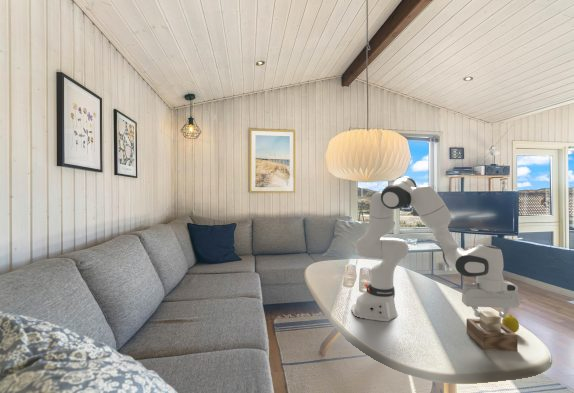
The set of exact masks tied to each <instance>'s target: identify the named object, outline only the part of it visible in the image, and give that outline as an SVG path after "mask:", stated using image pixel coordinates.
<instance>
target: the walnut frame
mask: <svg viewBox="0 0 574 393" xmlns="http://www.w3.org/2000/svg"><path fill="white" fill-rule="evenodd" d="M466 334H467V335H469V336H470V337H471V339H472V340H474V342H475V343H477V344H478V345H479V347H480V348H482V349H483V350H489V351H490V350H493V351H508V352H509V351H510V352H511V351H512V352H518V334H516V332H513V331H511V330H510V329H509V328H507V327H506V326H505V325H503V324H502V322H501V332H487V331H486V330H485V329H484V328H482V327H481V326H480V318H466Z"/></svg>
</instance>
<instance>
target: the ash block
mask: <svg viewBox="0 0 574 393" xmlns="http://www.w3.org/2000/svg"><path fill="white" fill-rule="evenodd" d="M479 312H480V313H481V315H480V316H481V317H479V319H480V326H481V327H482V328H484V329H485V330H486V331H487V332H501V323H502V320H501V319H502V318H501V317H500V316H499V314H497V313H496V312H494V311H492V310H491V311H486V310H484V311H483V310H482V311H481V310H480V311H479Z"/></svg>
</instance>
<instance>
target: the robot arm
mask: <svg viewBox="0 0 574 393" xmlns="http://www.w3.org/2000/svg"><path fill="white" fill-rule="evenodd" d="M369 203H370V204H369V211H368V213H369V216H368V217H369V219H368V228H367V231H366V232H365V233H364V235H362V236H361V237H360V238H358V239H356V241H355V244H354V250H355V253H356V255H358V257H360V258H364V259H370V260H382V261H381V262H380V263H378V264H376V265H374V266H373V267H372V268H371V269H370V283H367V282H366V283H365V284H364V286H365V288H366V291H365V292H364V293H362V294H360V295H359V296H357V298H356V302H355V304H352V306H351V313H352V312H353V313H352V314H354V315H355V316H357V317H360V318H359V319H362V318H365V319H364V320H371V321H378V322H390V321H391V320H392V319H396V317H398V311H397V308H396V302H395V298H396V297H395V296H396V294H395V293H396V291H395V290H396V289H395V286H394V276H395V275H394V274H395V270H396V267H397V266H398V264H399V263H400V262H402V261H403V260H404V259H406V258H407V256H408V255H409V249H410V248H409V245H408V243H407V242H406V241H405V240H404V239H402V238H398V237H383V236H385V235H387V234H389V233H390V232H391V231H392V230H393V228H394V210H398V209H404V208H409V207H410V206H411V207H413V209H414V210H415V211H416V213H417V215H418V216H419V218H420V220H421V221H422V222H423V223H424V224H425V226H426V227H427V228H428V229H429V230H430V231H431V232H432V234H433V236H434V238H435V239H436V241H437V243H438V244H439V246H440V249H441V251H442V259H443V262H444V264H445V265H447V266H448V267H449V268H450V269H453V270H454V271H455V272H456V273H458V274H460V275H461V276H464V277H470V278H471V277H476V278H475V279H476V282H475V283H471V282H470V283H469V282H468V283H465V284H463V285H462V288H461V290H462V294H461V302H462V303H463V305H465V306H466V307H469V308H470V307H471V309H472V310H473V312H474V316H475V317H476V318H480V317H481V316H480V315H481V313H480V311H479V308H502V309H501V311H498V316H499V317H501V319H503V318H506V315H507V313H508V312H509V311H510V308H511V309H512V308H513V309H514V308H515V309H517V308H518V307H520V304H521V303H520V302H521V298H520V293H519V292H518V291H519V286H518V285H517V284H514V283H512V282H511V281H508V280H505V278H504V274H503V271H504V256H503V252H502V250H501V248H500V247H498V246H495V245H493V244H492V245H491V244H490V243H489V244H488V243H479V244H477V245H476V246H474V247H473V248H471V249H467V250H466V249H464V248H462V247H461V246H460V245H458V243H457V242H456V241H455V239H454V237H453V235H452V234H451V232H450V229H449V225H450V224H451V221H452V214H451V213H450V210H449V208H448V207H447V204H446V203H445V201H444V200H443V199H442V197H441V196H440V195H439V193H438V192H437V191H436V190H435V189H434V188H433V187H432V186H430V185H428V184H427V185H426V184H422V185H418V186H417V183H416V181H415V180H414V179H413V178H412V177H409V176H400V177H397V178H396V179H395V180H393V181H391V182H390V183H389V184H388V185H387V186H385V188H383V189H382V191H376V192H374V193H373V194H372V195H371V197H370V202H369ZM354 315H353V316H354ZM355 316H354V317H355ZM357 317H356V318H357Z"/></svg>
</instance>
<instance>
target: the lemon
mask: <svg viewBox="0 0 574 393" xmlns="http://www.w3.org/2000/svg"><path fill="white" fill-rule="evenodd" d="M501 323H502V324H503V325H505V326H506V327H507V328H509V329H510V330H511V331H513V332H514V333H517V332H518V331H519V330H520V323H519V321H518V319H517V318H516V317H515V316H514V315H512V314H506V318H502V320H501Z"/></svg>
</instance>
